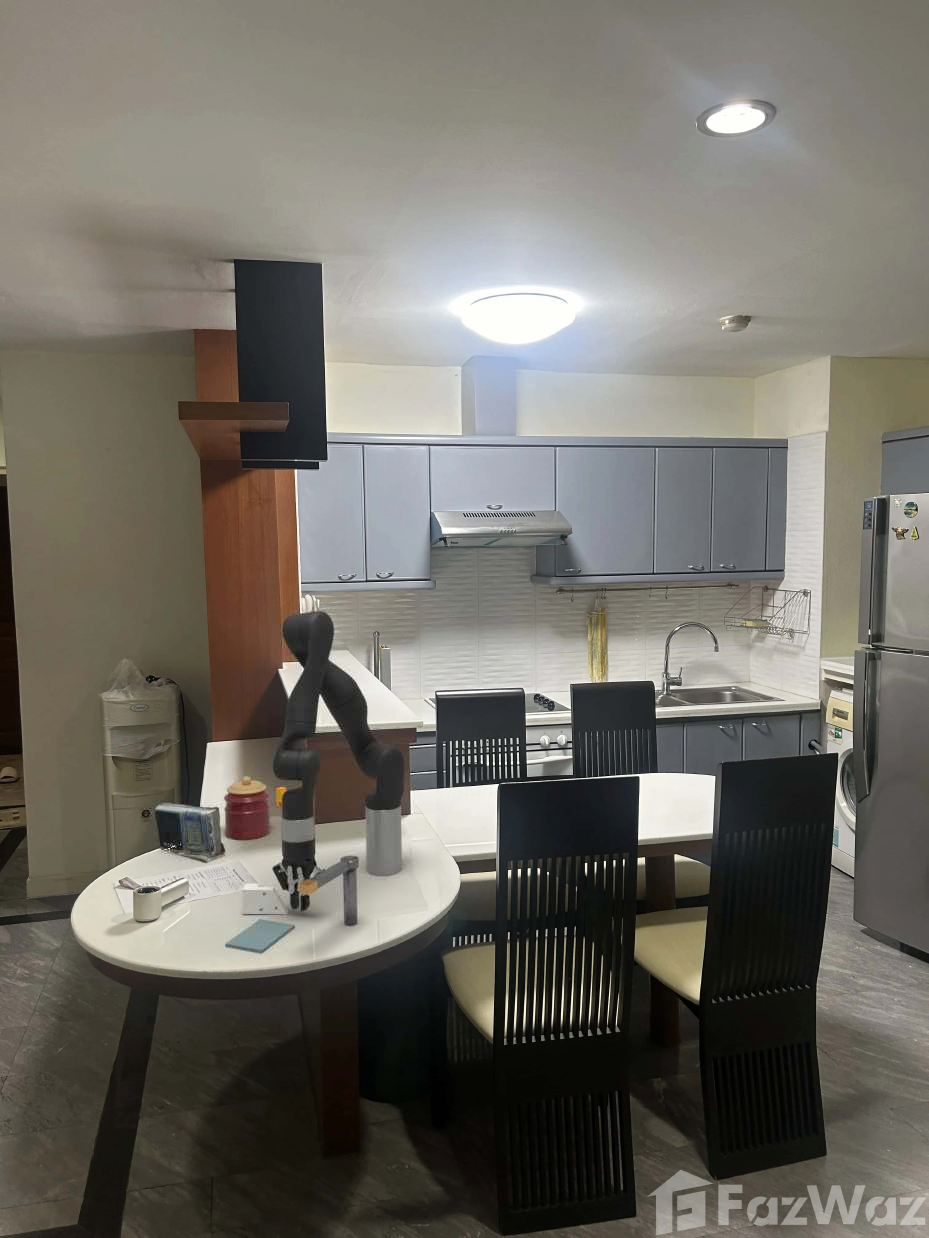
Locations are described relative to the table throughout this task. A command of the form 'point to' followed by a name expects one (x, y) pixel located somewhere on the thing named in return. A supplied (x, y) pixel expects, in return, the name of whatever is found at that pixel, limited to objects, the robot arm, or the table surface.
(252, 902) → the white angled block
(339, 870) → the grey and orange bar
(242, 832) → the canister
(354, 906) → the post
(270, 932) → the slate mat
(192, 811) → the radio
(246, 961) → the table surface
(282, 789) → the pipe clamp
